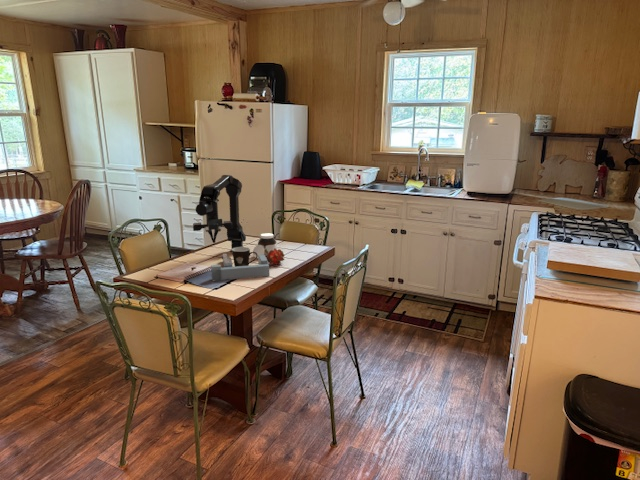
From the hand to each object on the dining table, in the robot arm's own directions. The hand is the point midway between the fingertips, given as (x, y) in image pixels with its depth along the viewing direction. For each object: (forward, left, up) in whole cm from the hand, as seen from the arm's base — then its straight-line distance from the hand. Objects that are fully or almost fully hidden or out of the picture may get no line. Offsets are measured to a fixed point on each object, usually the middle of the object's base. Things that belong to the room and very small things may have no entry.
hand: (213, 242), depth 223 cm
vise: (+6, +19, -12) cm, 23 cm away
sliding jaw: (+2, +8, -12) cm, 14 cm away
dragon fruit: (-14, +27, -12) cm, 32 cm away
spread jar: (-24, +15, -12) cm, 31 cm away
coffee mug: (-1, +17, -12) cm, 21 cm away
